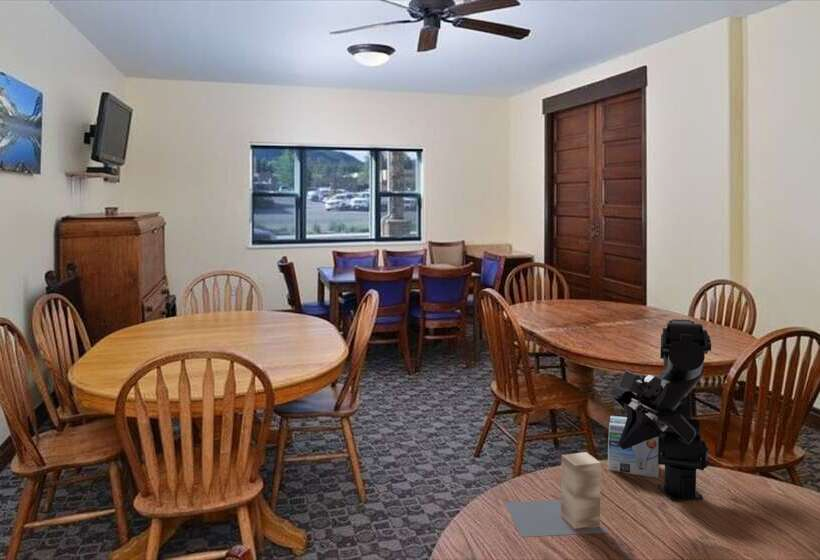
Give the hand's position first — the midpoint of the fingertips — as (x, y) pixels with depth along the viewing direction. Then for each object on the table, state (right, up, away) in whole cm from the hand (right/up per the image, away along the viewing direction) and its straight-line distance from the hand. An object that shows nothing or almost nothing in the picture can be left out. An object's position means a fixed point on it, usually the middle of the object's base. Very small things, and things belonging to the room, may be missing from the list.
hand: (620, 447), depth 110 cm
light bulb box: (+11, -11, +23) cm, 28 cm away
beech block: (-8, -13, -1) cm, 15 cm away
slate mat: (-12, -14, +2) cm, 18 cm away
